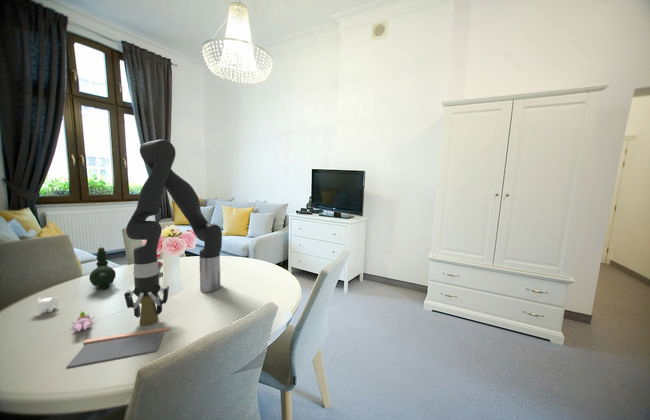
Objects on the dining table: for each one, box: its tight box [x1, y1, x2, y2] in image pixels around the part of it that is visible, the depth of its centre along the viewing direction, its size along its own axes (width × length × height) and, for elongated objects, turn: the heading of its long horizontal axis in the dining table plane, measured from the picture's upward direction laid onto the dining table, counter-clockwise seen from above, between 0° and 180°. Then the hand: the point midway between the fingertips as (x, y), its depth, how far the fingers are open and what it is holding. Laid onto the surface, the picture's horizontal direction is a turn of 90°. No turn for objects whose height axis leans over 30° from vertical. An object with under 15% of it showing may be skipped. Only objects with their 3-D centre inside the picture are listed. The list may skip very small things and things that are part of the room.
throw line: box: [82, 326, 170, 345], centre depth 86 cm, size 24×2×1 cm, turn 111°
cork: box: [138, 296, 159, 327], centre depth 94 cm, size 6×6×11 cm
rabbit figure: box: [71, 310, 96, 332], centre depth 90 cm, size 6×6×15 cm
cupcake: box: [157, 260, 164, 273], centre depth 140 cm, size 9×8×12 cm
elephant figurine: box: [34, 296, 60, 314], centre depth 99 cm, size 7×8×6 cm
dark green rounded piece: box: [88, 247, 116, 291], centre depth 123 cm, size 9×19×25 cm
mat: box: [66, 331, 165, 369], centre depth 80 cm, size 22×10×1 cm, turn 111°
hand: (148, 314), depth 95 cm, fingers open, 6 cm apart
